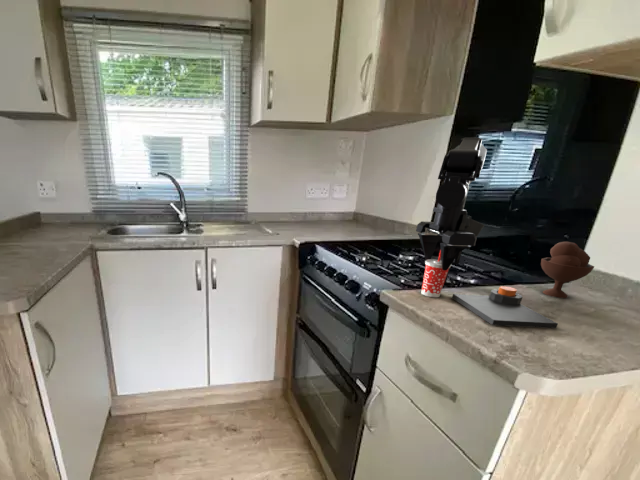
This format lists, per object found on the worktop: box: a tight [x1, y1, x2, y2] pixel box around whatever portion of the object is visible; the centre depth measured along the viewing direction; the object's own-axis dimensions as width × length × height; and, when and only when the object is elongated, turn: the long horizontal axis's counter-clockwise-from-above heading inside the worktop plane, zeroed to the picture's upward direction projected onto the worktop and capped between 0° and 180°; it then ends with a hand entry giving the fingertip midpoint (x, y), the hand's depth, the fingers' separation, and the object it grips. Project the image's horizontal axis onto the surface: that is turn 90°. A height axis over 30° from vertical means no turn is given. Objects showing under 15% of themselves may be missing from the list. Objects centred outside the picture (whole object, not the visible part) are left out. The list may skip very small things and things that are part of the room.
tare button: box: [498, 285, 518, 296], centre depth 90 cm, size 4×4×2 cm
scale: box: [451, 288, 559, 329], centre depth 86 cm, size 17×15×3 cm
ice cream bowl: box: [540, 241, 595, 299], centre depth 98 cm, size 11×11×15 cm
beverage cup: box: [420, 250, 452, 298], centre depth 94 cm, size 6×6×14 cm
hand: (435, 265), depth 94 cm, fingers open, 9 cm apart
